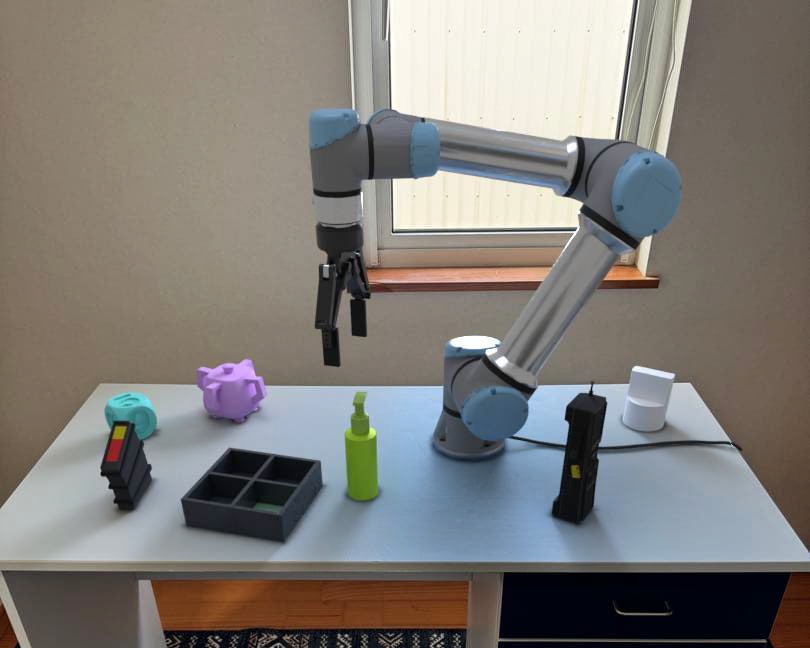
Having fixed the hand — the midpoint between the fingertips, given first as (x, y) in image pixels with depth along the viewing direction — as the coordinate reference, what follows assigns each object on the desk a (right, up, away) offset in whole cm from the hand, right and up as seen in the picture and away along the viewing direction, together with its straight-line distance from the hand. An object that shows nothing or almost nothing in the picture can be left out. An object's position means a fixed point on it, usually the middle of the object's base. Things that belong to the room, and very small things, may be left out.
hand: (346, 350), depth 132 cm
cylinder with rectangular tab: (+64, -7, +39) cm, 75 cm away
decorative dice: (-49, -10, +35) cm, 61 cm away
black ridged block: (-42, -25, +14) cm, 51 cm away
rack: (-18, -26, +12) cm, 34 cm away
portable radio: (+41, -28, +9) cm, 51 cm away
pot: (-29, -4, +43) cm, 52 cm away
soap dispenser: (+2, -24, +16) cm, 29 cm away
